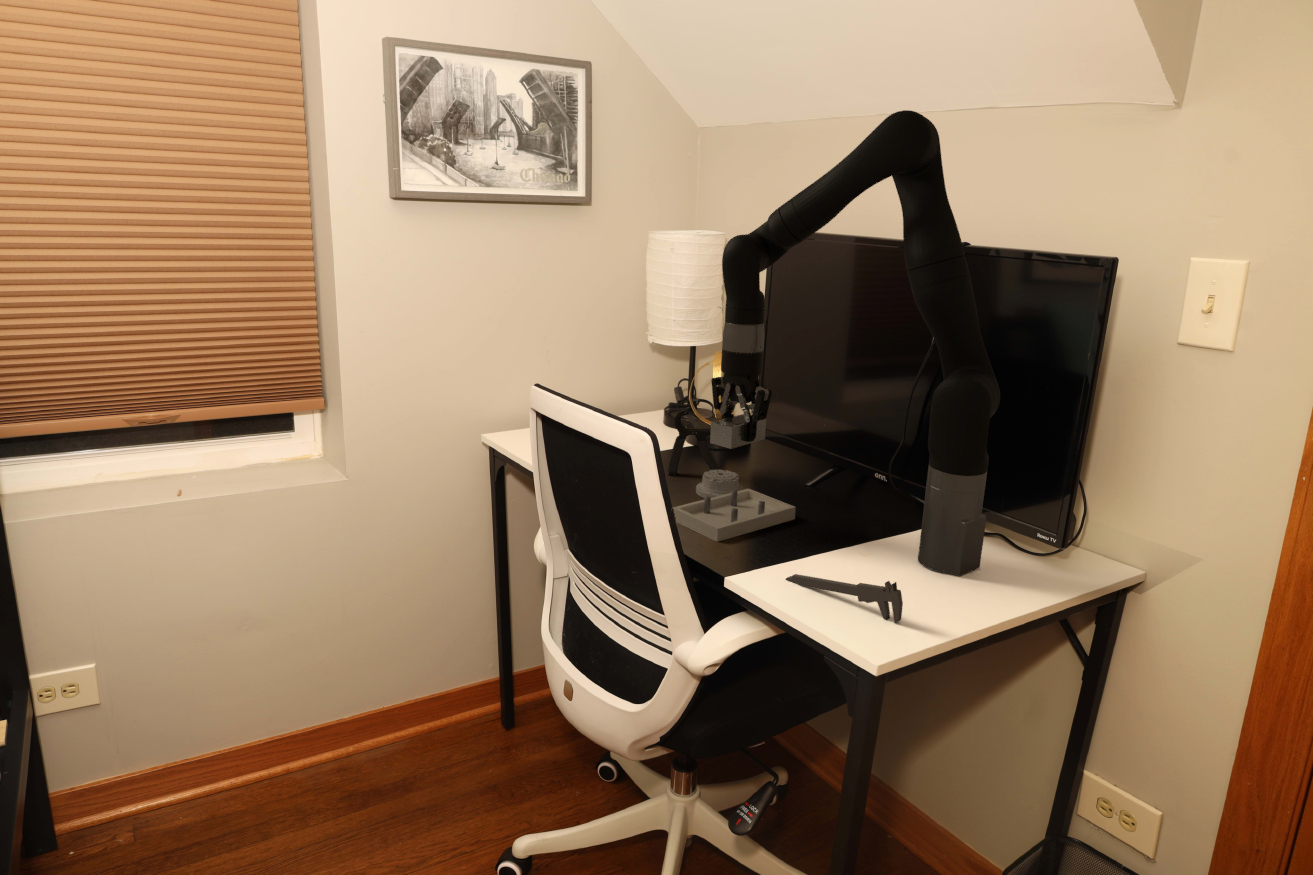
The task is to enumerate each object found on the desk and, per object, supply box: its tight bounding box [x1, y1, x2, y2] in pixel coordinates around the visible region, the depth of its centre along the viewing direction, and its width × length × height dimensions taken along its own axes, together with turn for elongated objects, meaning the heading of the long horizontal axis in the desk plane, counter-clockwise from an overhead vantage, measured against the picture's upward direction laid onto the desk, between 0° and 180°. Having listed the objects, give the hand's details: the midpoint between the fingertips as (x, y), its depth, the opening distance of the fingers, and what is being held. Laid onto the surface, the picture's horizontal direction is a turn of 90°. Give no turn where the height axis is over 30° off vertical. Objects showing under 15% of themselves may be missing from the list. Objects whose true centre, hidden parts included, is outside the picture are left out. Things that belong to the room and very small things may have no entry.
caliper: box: [785, 573, 904, 624], centre depth 133 cm, size 20×1×6 cm, turn 45°
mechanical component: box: [695, 469, 745, 499], centre depth 180 cm, size 10×4×10 cm
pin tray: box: [672, 488, 797, 543], centre depth 166 cm, size 13×20×4 cm, turn 128°
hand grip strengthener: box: [667, 408, 724, 477], centre depth 189 cm, size 2×12×15 cm, turn 78°
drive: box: [709, 413, 767, 450], centre depth 161 cm, size 5×10×4 cm, turn 136°
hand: (737, 436), depth 162 cm, fingers closed on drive, 5 cm apart
